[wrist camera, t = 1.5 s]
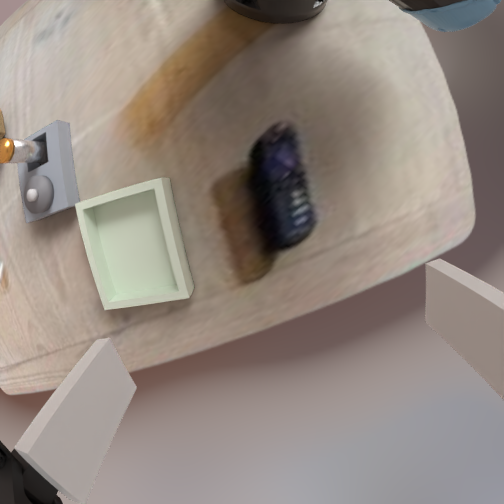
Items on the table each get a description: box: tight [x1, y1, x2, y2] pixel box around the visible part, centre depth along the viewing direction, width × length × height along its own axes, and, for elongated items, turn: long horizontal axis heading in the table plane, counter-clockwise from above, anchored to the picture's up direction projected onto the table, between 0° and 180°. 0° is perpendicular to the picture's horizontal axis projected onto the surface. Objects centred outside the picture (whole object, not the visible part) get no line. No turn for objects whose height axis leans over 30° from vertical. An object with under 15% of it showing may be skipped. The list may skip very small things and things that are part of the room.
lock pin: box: [0, 138, 48, 163], centre depth 25 cm, size 3×3×10 cm
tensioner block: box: [17, 120, 80, 223], centre depth 28 cm, size 12×9×6 cm
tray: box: [75, 177, 195, 310], centre depth 32 cm, size 14×12×4 cm
